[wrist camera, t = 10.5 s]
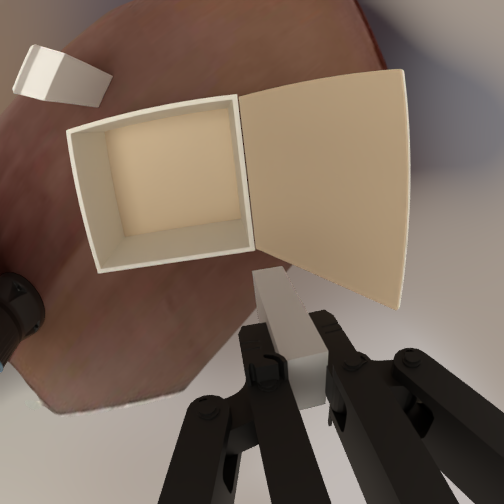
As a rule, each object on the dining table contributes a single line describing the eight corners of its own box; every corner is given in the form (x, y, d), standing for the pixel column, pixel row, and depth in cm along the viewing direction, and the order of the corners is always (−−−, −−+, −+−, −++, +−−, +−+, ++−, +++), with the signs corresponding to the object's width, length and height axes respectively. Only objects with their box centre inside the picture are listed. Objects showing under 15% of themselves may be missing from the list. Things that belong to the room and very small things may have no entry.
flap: (396, 310, 24) (399, 307, 24) (399, 68, 17) (403, 70, 17) (255, 248, 40) (259, 247, 41) (238, 96, 33) (242, 96, 33)
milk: (113, 76, 41) (54, 47, 21) (98, 108, 43) (31, 99, 23) (85, 67, 40) (18, 39, 19) (71, 98, 41) (-4, 88, 21)
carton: (123, 239, 52) (98, 273, 39) (102, 129, 44) (66, 130, 32) (244, 220, 54) (254, 250, 41) (230, 104, 46) (236, 94, 33)
